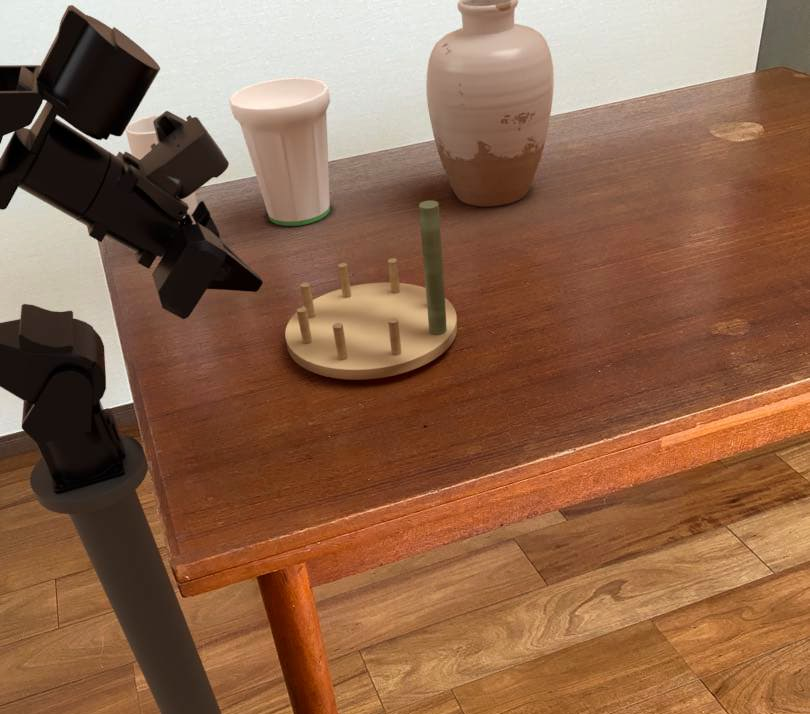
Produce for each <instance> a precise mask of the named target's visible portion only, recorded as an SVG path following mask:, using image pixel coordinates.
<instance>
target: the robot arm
mask: <svg viewBox="0 0 810 714" xmlns="http://www.w3.org/2000/svg"><path fill="white" fill-rule="evenodd" d="M160 71H161V67H160V66H159V64H158V62H156V60H155V59H154V58H153V57H152V56H151V55H150V54H149V53H148V52H147V51H145V50H144V49H143V48H142V47H141V46H140V45H139V44H137V43H136V42H135V41H134V40H133V39H131V38H130V37H129V36H127V35H126V34H125V33H124V32H123V31H121V30H119V29H118V28H116V27H115V26H113V27H112V28H111V27H110V26H109V25H107V24H105V23H104V22H102V21H101V20H99V19H97V18H95V17H92V16H91V15H88V14H85V13H84V12H83V11H81V10H80V9H78V8H77V7H76V6H74V5H73V4H71V5H67V8H66V9H65V11H64V13H63V14H62V17H61V19H60V21H59V27H58V31H57V33H56V35H55V38H54V40H53V41H52V43H51V45H50V47H49V49H48V51H47V53H46V55H45V57H44V59H43V60H42V62H41V64H40V65H39V64H30V65H29V64H16V65H15V64H13V65H11V64H10V65H9V64H8V65H7V64H6V65H5V64H4V65H0V145H1V144H2V141H3V137H4V136H6V135H9V134H12V135H11V137H10V139H9V141H8V143H7V145H6V146H5V148H4V150H3V152H2V154H1V156H0V211H1V210H2V211H5V210H6V209H7V208H8V206H10V205H9V204H10V203H11V201H12V200H13V198H14V195H15V194H16V191H18V189H21V190H23V191H25V192H26V193H28V194H30V195H32V197H35V198H37V199H39V200H40V201H42V202H44V203H46V204H48V205H49V206H51V207H53V208H55V209H56V210H58V211H59V212H62V213H63V214H65V215H66V216H68V217H71V218H72V219H74V220H76V221H77V222H79V223H80V224H83V225H84V226H86V228H87V233H88V236H89V237H90V238H93V239H94V240H96V241H98V242H100V243H102V242H103V240H104V239H105V237H106V238H107V239H110V240H111V241H113V242H115V243H116V244H118V245H120V246H122V247H123V248H125V249H127V250H129V251H130V252H132V253H134V255H135V259H136V261H137V264H139V265H141V266H143V267H144V268H146V269H148V270H150V268H151V267H152V265H153V263H154V262H155V260H156V259H157V257H159V258H161V259H160V260H159V262H158V264H157V265H156V267H155V268H154V269H153V272H152V273H151V275H152V279H153V283H154V286H155V289H156V292H157V295H158V298H159V302H160V304H161V308H162V309H163V310H165V311H167V312H168V313H171V314H172V315H174V316H177V317H178V318H180V319H182V320H185V319H187V318H189V317H190V316H191V314H192V313H193V311H194V309H195V308H196V307H197V305H198V304H199V302H200V300H201V299H202V297H203V296H204V294H205V292H206V291H207V290H218V291H219V290H221V291H222V290H223V291H236V292H250V293H251V292H252V293H257V292H258V291H260V289H261V287H262V286H263V282H264V281H263V279H262V278H261V276H259V274H258V273H256V272H255V271H254V270H253V269H252V268H251V267H250V266H249V265H248V264H247V263H246V262H245V260H243V258H241V257H240V256H239V255H238V254H237V253H236V252H235V251H234V250H233V249H232V248H231V247H230V246H229V245H228V244H227V242H225V241H224V240H223V239H222V238H221V235H220V231H219V229H218V227H217V224H216V223H215V221H214V219H213V217H212V215H211V212H210V210H209V208H208V206H207V205H206V203H205V200H201V201H200V202H198V205H197V207H196V209H195V210H194V212H193V213H192V214H191V213H190V212H188V211H187V210H188V209H189V207H188V205H187V203H185V202H184V201H182V199H184V198H186V197H188V196H189V195H191V194H192V193H193V192H195V191H196V192H197V190H199V189H200V188H201V187H203V186H204V185H205V184H207V183H208V182H209V181H210V180H211V179H213V178H215V179H216V178H218V177H220V176H221V175H223V174H224V173H225V171H227V170H228V168H229V166H230V165H229V164H230V162H229V160H228V158H226V156H225V154H224V152H223V151H222V149H221V148H220V146H219V145H218V144H217V142H216V141H215V139H214V138H213V137H212V136H211V134H210V132H209V131H208V130H207V128H206V127H205V126H204V124H203V123H202V122H201V120H200V119H199V117H197V116H194V117H192V116H191V115H188V116H186V118H185V119H184V118H182V117H180V116H178V115H177V114H174V113H173V112H171V111H168V110H165V111H164V112H163V113H161V114H159V115H160V116H159V117H158V118H157V119H155V120H154V121H153V123H154V127H155V132H156V136H157V140H158V144H157V145H155V143H154V144H152V145H151V149H152V150H151V151H150V152H149V153H148V154H146V155H145V156H144V157H143V158H142V159H141V160H139V159H138V158H136V157H134V156H133V155H132V153H129V152H127V151H124V153H122V152H121V151H118V152H117V154H116V155H115V154H114V153H112V152H110V151H109V150H107V149H106V148H104V147H102V146H101V145H100V144H98V143H96V142H94V141H93V140H91V139H95V140H97V141H102V140H105V141H107V140H108V139H109V138H110V136H114V137H122V136H123V134H124V132H126V127H127V126H128V125H129V124H130V123H131V121H132V119H133V117H134V115H135V114H136V112H137V110H138V109H139V107H140V105H141V104H142V101H143V100H144V98H145V97H146V95H147V93H148V92H149V90H150V88H151V86H152V84H153V83H154V81H155V79H156V77H157V76H158V74H159V72H160ZM43 101H46V102H45V104H44V106H43V108H42V110H41V111H40V113H39V115H38V116H37V118H36V115H37V114H38V112H39V110H40V108H41V106H42V104H43ZM57 117H59V118H61V119H62V120H63V121H65V122H66V123H68V124H69V125H70V126H69V125H67V124H66V123H65V122H63V121H61V120H60V119H58V118H57ZM35 118H36V120H35V121H34V119H35ZM33 121H34V123H33ZM32 123H33V124H32ZM31 124H32V126H31ZM29 126H31V127H30V128H28V127H29ZM71 126H72V127H73V128H72V127H71ZM74 128H75V129H76V130H75V129H74ZM77 130H78V131H79V132H78V131H77ZM83 134H84V135H86V136H84V135H83ZM87 136H88V137H90V138H91V139H89V138H88V137H87ZM105 354H106V353H105V345H104V342H103V340H102V337H101V336H100V335H99V333H98V332H97V331H96V329H94V327H93V325H91V324H89V323H87V322H86V321H84V320H81V319H78V318H74V312H73V310H65V311H55V310H50V309H46V308H43V307H40V306H37V305H36V304H35V305H34V304H28V303H23V304H21V308H20V318H18V319H13V320H8V321H7V320H6V321H3V322H0V388H2V389H3V390H5V391H7V392H8V393H10V394H11V395H13V396H15V397H17V398H18V399H20V400H21V401H22V402H23V404H22V415H21V416H22V417H21V430H22V431H24V433H26V434H27V436H29V437H30V438H31V439H32V441H34V442H35V444H36V446H37V449H38V451H39V453H40V455H41V458H42V457H43V460H44V462H45V464H46V466H47V468H48V470H49V472H50V475H51V480H52V489H53V491H54V493H55V494H61V493H65V492H68V491H72V490H75V489H79V488H82V487H86V486H89V485H93V484H96V483H100V482H103V481H107V480H110V479H114V478H117V477H121V476H123V475H124V474H125V469H124V464H123V459H125V457H126V453H125V448H124V444H123V441H122V438H121V435H120V433H121V432H120V431H119V428H118V425H117V422H116V420H115V416H114V414H113V412H112V410H111V408H108V407H106V408H104V406H103V404H102V401H101V399H103V398H104V395H105V392H106V391H107V374H106V373H107V372H106V355H105Z"/></svg>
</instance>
